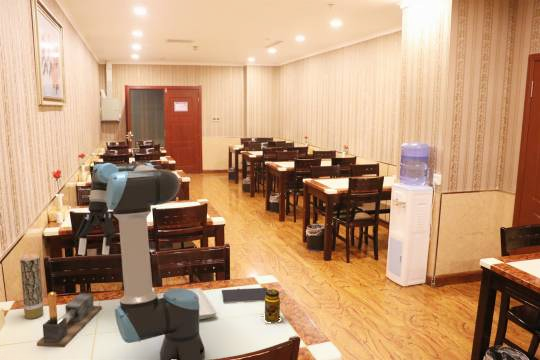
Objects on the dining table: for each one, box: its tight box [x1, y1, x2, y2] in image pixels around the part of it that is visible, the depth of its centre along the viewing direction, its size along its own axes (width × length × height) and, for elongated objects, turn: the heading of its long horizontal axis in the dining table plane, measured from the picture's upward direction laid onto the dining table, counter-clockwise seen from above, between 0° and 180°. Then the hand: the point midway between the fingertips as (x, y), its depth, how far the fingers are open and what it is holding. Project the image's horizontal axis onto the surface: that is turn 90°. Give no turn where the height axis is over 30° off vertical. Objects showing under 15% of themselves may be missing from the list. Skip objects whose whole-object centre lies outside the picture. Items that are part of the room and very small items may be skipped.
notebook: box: [221, 287, 269, 304], centre depth 202 cm, size 13×2×21 cm
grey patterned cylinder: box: [19, 253, 44, 320], centre depth 178 cm, size 7×7×25 cm
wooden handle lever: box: [46, 291, 77, 325], centre depth 165 cm, size 18×3×16 cm, turn 176°
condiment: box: [261, 289, 284, 324], centre depth 180 cm, size 7×8×12 cm
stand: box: [36, 292, 103, 348], centre depth 172 cm, size 30×10×8 cm, turn 176°
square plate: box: [156, 287, 218, 320], centre depth 186 cm, size 27×27×4 cm
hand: (93, 254), depth 176 cm, fingers open, 13 cm apart
